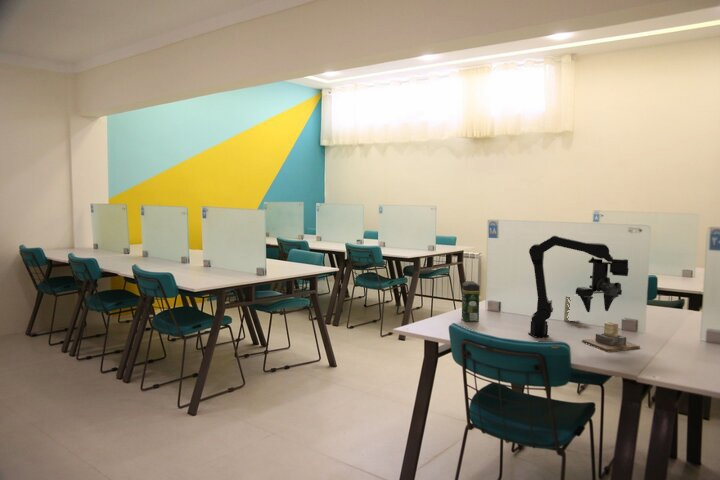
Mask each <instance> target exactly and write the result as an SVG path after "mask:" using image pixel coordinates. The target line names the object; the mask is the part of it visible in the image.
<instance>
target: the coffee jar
mask: <svg viewBox="0 0 720 480" xmlns="http://www.w3.org/2000/svg"><path fill="white" fill-rule="evenodd" d="M461 287H462V288H461V289H462V290H461V319H462V320H463V321H465V322H470V323H474V322H479V320H480V291H481V290H480V285H479V284H478V283H477V282H475V281H474V280H473V281H468V280H467V281H465V282H462V286H461Z"/></svg>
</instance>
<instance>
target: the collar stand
mask: <svg viewBox="0 0 720 480" xmlns="http://www.w3.org/2000/svg"><path fill="white" fill-rule="evenodd" d="M583 342H584V343H583ZM581 343H583V344H586V343H587V345H588V344H590V345H589V346H591V345H592V346H591V347H594V346H595V347H594V348H596V347H598V348H597V349H599V348H600V349H599V350H601V349H603V350H602V351H604V350H605V351H604V352H607V353H608V351H610V352H617V350H619V351H626V350H627V349H629V350H636V349H638V350H639V349H640V348H641V346H640V345H639V344H636V343H633V342H630V341H627V337H626V336H623V335H621V334H618V337H614V338H610V337H607V336H604V332H602V333H601V332H600V333H595V338H585V339H582V340H581ZM627 351H628V350H627Z"/></svg>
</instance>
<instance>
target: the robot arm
mask: <svg viewBox="0 0 720 480" xmlns="http://www.w3.org/2000/svg"><path fill="white" fill-rule="evenodd" d="M555 246H557V247H560V248H561V247H562V248H566V249H570V250H575V251H578V252H584V253H586V254H588V255H590V256H592V257H591V258H590V259H588V261H587V262H588V263H589V264H592V275H590V276H589V279H591V285H589V287H585V286H578V287H576V289H575V294H576V295H577V296H580V300H581V301H582V302H583V306H584V308H585V310H586V312H587V313H590V312H591V305H592V304H591V302H592V300H593V298H594V297H593V295H594V294H603V302H604V303H603V305H604V311H605V312H608V311H609V309H610V308H611V305H612V303H613V301H614V300H615V299H616V298H619V296H621V295H622V292H623V291H622V283H620V282H618V281H617V282H611V278H610V277H609V276H608V272H609V273H611V275H612V276H619V277H620V276H621V277H628V276H629V260H628V259H627V258H626V259H625V258H622V259H620V258H614V257H613V256H612V255H611V254H610V250H609V247H608V245H607V244H605V243H600V242H585V241H584V242H583V241H579V240H574V239H570V238H566V237H561V236H559V235H558V236H557V235H552V236H551V237H550V238H547V239H546V240H544V241H542V242H541V243H534V244H532V246H530V248H529V251H528V253H529V257H530V260H531V262H532V265H533V270H534V277H535V287H536V294H537V295H536V296H537V305H536V311H535V312H533V314H532V316H531V318H530V319H531V320H530V330H529V332H528V333H527V334H528V335H530V336H532V337H533V338H548V337H550V335H549V332H548V329H549V324H548V321H547V320H549V319H550V317H551V316H552V313H553V312H554V308H553V300H552V299H551V300H549V298H548V293H547V285H546V277H545V276H546V275H545V269H544V261H545V260H544V259H545V253H546V252H547V251H548V250H550V249H552V248H553V247H555ZM603 259H604V260H605V261H603Z"/></svg>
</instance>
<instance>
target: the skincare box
mask: <svg viewBox="0 0 720 480" xmlns="http://www.w3.org/2000/svg"><path fill="white" fill-rule="evenodd" d="M567 298H568V299H569V300H570V297H568V296H566V295H565V298H564V300H565V302H564V317H563V321H564V322H570V321H569V320H568V318H569V317H568V318H567V316H568V313H569V312H567V311H568V310H570V309H569V307H570V303H569V302H568V299H567ZM570 301H571V300H570ZM567 304H568V305H569V307H568V305H567Z"/></svg>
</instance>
